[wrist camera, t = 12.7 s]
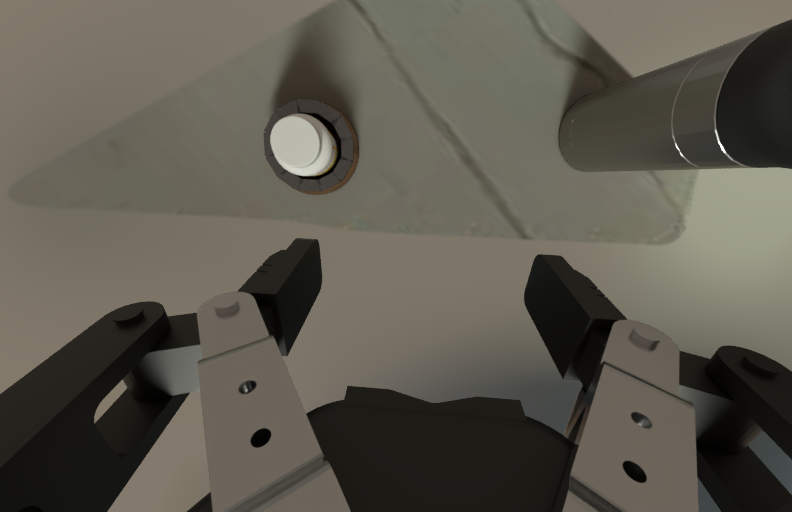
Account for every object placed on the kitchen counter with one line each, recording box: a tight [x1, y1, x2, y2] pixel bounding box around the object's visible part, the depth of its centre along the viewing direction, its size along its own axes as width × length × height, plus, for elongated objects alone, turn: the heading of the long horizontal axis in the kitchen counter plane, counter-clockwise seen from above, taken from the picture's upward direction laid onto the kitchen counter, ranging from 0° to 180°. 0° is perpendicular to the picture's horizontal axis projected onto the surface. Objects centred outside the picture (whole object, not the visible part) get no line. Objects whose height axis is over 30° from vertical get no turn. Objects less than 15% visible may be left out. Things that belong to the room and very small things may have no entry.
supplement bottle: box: [270, 114, 338, 176], centre depth 29 cm, size 5×5×10 cm
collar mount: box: [264, 99, 359, 195], centre depth 33 cm, size 10×10×4 cm
